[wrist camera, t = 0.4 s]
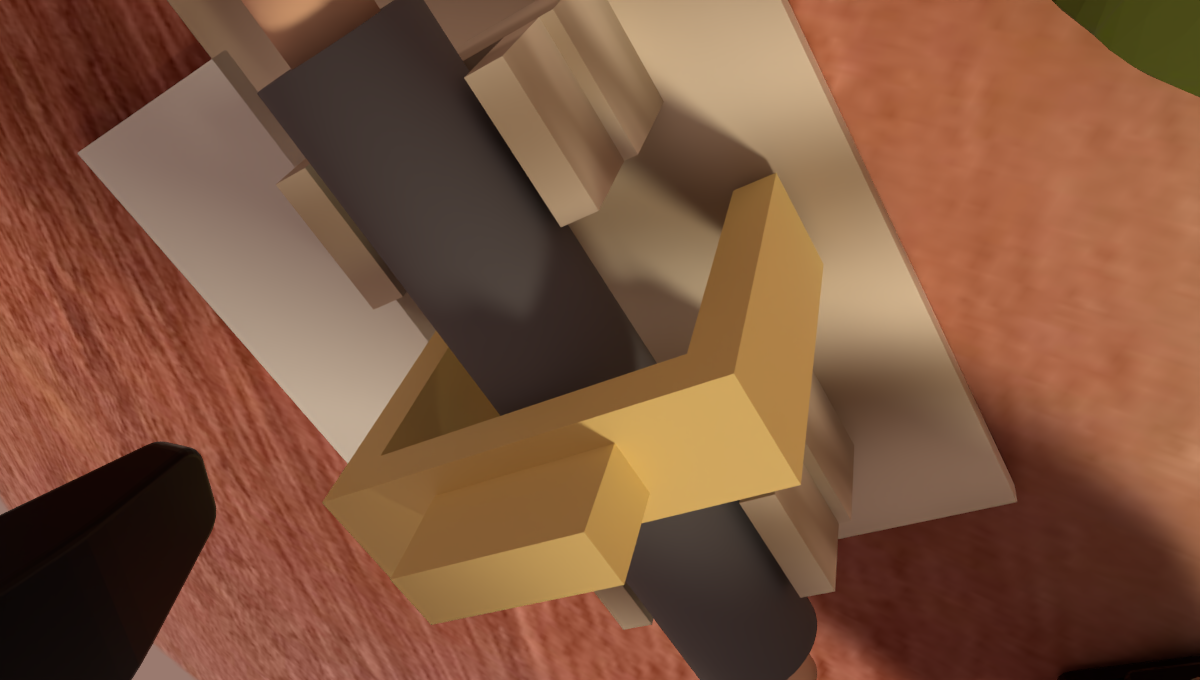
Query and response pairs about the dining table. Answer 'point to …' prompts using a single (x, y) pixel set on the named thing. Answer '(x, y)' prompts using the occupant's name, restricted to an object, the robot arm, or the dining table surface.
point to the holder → (699, 231)
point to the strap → (594, 441)
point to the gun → (1147, 35)
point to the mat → (257, 250)
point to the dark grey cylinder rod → (509, 291)
